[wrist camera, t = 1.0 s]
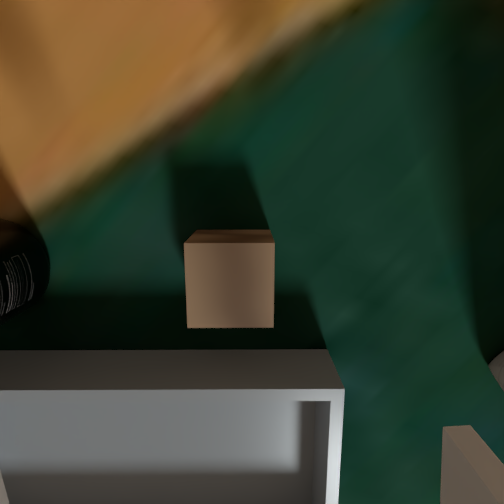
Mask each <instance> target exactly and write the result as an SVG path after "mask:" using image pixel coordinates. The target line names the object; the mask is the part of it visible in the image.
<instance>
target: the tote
mask: <svg viewBox="0 0 504 504" xmlns="http://www.w3.org/2000/svg"><path fill="white" fill-rule="evenodd" d="M344 392H345V389H344V386H343V384H342V382H341V380H340V377H339V375H338V373H337V370H336V368H335V366H334V364H333V361H332V359H331V357H330V355H329V352H328V350H327V349H270V350H6V351H0V471H1V475H2V479H3V482H4V486H5V489H6V493H7V497H8V500H9V504H338V494H339V477H340V460H341V443H342V426H343V409H344Z"/></svg>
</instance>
